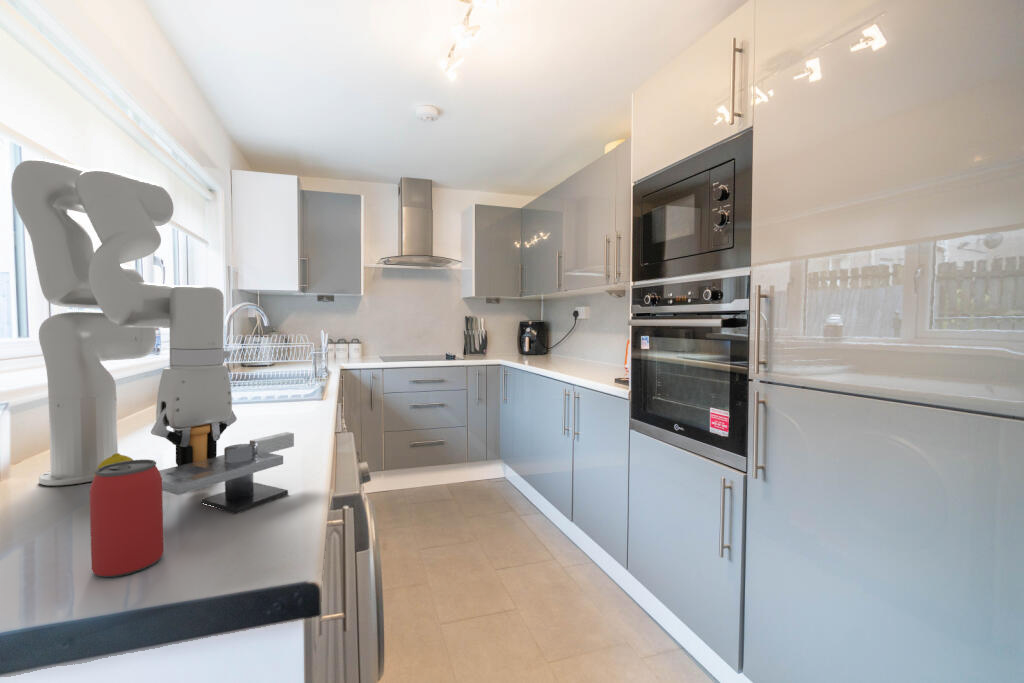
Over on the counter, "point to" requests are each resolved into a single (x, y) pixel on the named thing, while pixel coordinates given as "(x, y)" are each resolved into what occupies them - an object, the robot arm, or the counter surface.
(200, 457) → the orange flanged peg
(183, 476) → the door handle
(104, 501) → the beer can
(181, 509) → the counter surface
